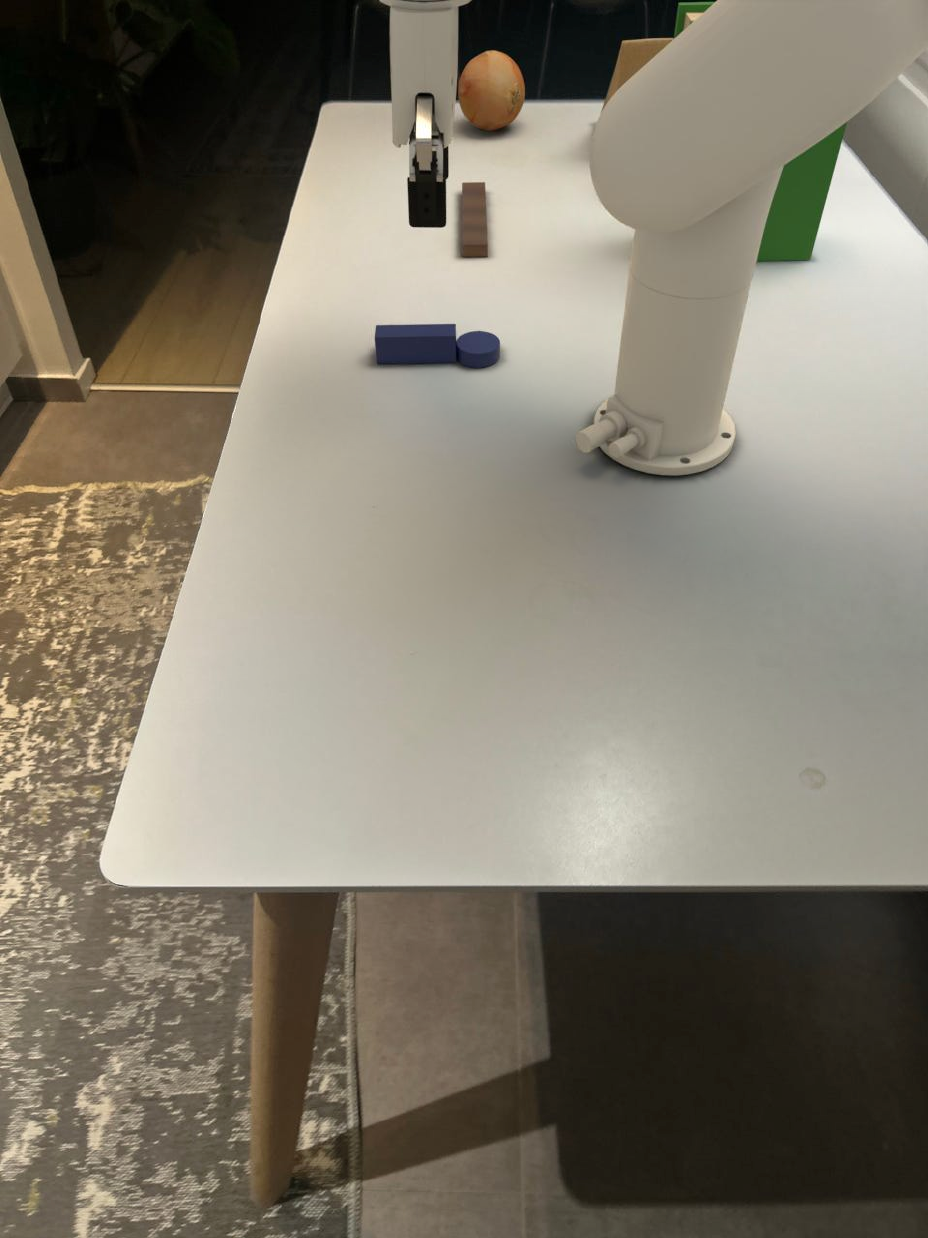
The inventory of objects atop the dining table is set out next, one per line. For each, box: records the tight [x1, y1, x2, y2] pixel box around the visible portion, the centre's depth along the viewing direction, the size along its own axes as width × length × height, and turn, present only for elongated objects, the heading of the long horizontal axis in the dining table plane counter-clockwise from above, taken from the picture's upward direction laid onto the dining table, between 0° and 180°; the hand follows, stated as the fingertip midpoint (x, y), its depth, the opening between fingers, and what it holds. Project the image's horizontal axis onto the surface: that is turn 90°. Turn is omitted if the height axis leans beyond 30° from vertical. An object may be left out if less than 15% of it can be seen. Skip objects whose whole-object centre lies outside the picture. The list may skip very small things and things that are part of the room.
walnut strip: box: [461, 181, 489, 258], centre depth 114 cm, size 18×3×2 cm, turn 0°
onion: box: [457, 49, 526, 132], centre depth 133 cm, size 10×10×10 cm
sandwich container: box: [600, 37, 674, 113], centre depth 126 cm, size 9×15×15 cm, turn 2°
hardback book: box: [673, 1, 848, 262], centre depth 100 cm, size 18×7×24 cm, turn 91°
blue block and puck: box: [374, 323, 501, 369], centre depth 92 cm, size 12×4×3 cm, turn 90°
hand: (429, 201), depth 82 cm, fingers open, 9 cm apart
